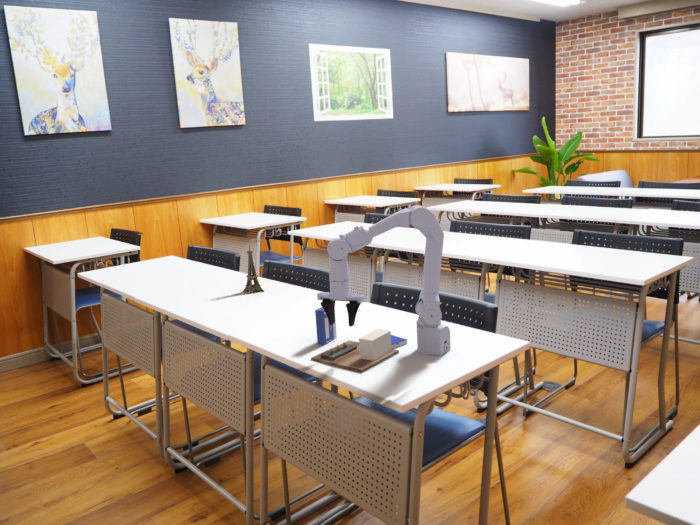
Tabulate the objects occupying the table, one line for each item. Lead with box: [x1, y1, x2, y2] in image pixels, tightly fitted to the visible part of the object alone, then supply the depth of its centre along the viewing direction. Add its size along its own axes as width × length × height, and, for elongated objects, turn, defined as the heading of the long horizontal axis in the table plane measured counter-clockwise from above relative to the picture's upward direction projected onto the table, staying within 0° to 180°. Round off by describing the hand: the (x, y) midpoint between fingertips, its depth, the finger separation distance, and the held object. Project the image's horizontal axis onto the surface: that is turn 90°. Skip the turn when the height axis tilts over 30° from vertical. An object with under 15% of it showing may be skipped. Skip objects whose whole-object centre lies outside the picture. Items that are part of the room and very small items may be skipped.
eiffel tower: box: [242, 244, 265, 295], centre depth 247 cm, size 11×11×25 cm
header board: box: [310, 340, 400, 373], centre depth 169 cm, size 19×18×3 cm
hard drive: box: [391, 334, 408, 349], centre depth 180 cm, size 2×8×12 cm
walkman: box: [314, 306, 338, 346], centre depth 183 cm, size 8×3×12 cm, turn 152°
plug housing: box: [358, 328, 392, 361], centre depth 168 cm, size 5×10×6 cm, turn 145°
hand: (341, 324), depth 169 cm, fingers open, 6 cm apart
